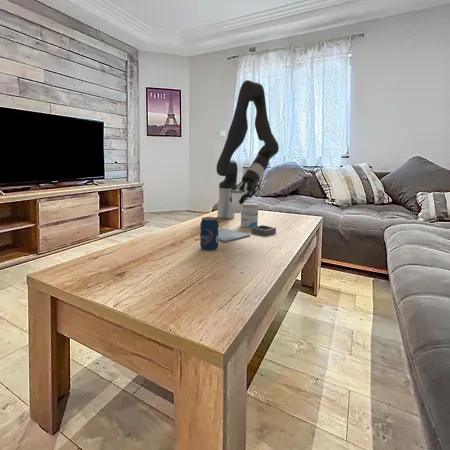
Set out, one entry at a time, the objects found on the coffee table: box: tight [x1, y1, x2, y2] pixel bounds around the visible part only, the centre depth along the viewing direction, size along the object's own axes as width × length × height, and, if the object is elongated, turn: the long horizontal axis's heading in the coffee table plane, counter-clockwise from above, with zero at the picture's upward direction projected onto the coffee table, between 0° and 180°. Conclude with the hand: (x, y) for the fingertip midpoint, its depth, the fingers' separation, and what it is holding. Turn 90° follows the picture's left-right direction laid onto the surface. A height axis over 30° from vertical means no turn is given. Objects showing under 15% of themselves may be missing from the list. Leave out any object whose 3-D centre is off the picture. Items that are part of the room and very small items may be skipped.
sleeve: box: [251, 224, 277, 237], centre depth 148 cm, size 8×8×2 cm
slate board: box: [218, 228, 251, 243], centre depth 141 cm, size 16×16×1 cm
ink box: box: [240, 202, 259, 228], centre depth 161 cm, size 8×5×12 cm, turn 84°
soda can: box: [199, 216, 220, 252], centre depth 120 cm, size 7×7×12 cm
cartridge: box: [232, 189, 244, 214], centre depth 143 cm, size 5×5×10 cm
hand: (235, 202), depth 143 cm, fingers closed on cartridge, 5 cm apart
